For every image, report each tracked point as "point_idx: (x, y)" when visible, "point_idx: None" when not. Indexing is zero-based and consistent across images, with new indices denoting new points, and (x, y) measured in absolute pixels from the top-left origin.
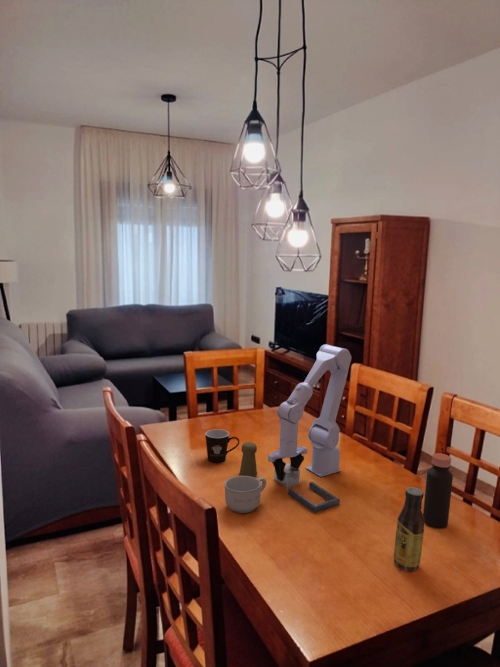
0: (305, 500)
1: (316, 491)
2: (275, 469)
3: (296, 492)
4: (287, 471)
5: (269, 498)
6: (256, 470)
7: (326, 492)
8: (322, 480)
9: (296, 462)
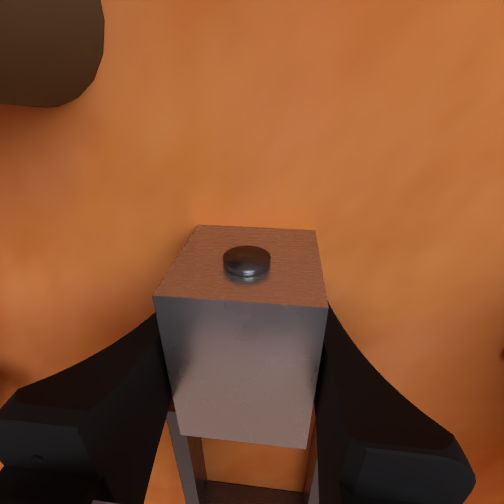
0: (182, 486)
1: (314, 437)
2: (131, 335)
3: (184, 446)
4: (198, 418)
5: (74, 361)
6: (53, 75)
7: (313, 499)
8: (468, 382)
9: (320, 473)
